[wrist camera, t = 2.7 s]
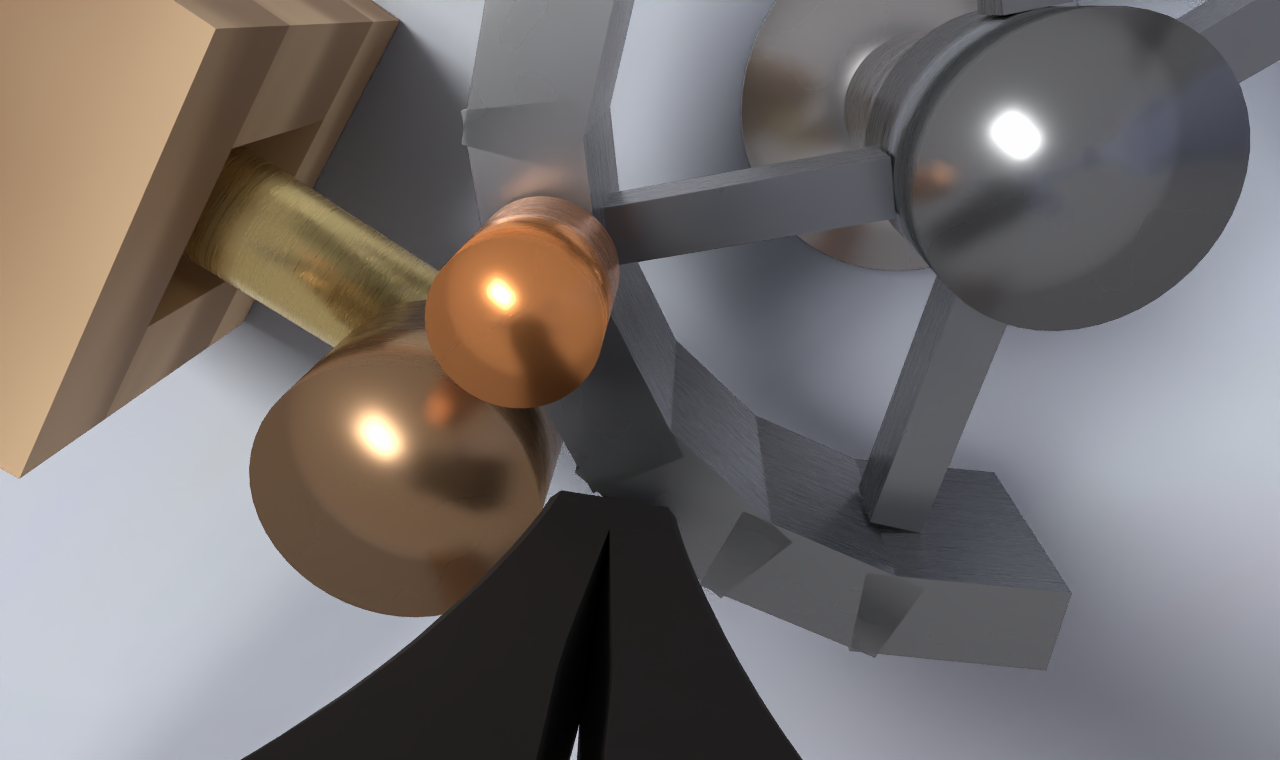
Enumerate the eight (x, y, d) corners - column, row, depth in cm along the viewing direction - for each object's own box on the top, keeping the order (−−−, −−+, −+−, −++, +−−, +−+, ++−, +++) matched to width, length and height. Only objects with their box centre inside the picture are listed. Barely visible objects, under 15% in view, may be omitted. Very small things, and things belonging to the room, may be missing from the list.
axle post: (1159, 57, 15) (1329, 76, 11) (923, 324, 17) (994, 421, 13) (890, -168, 14) (970, -240, 10) (675, 147, 16) (668, 194, 12)
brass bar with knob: (627, 317, 16) (594, 471, 10) (523, 461, 17) (448, 660, 12) (-53, -134, 13) (-522, -223, 8) (-113, 71, 15) (-551, 106, 9)
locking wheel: (1640, -110, 10) (2392, -204, 6) (909, 603, 14) (1003, 865, 10) (957, -811, 8) (1271, -1781, 4) (360, 253, 13) (180, 385, 8)
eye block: (400, 20, 16) (215, 28, 10) (243, 322, 18) (19, 478, 12) (195, -123, 15) (-144, -212, 9) (60, 212, 17) (-273, 320, 11)
